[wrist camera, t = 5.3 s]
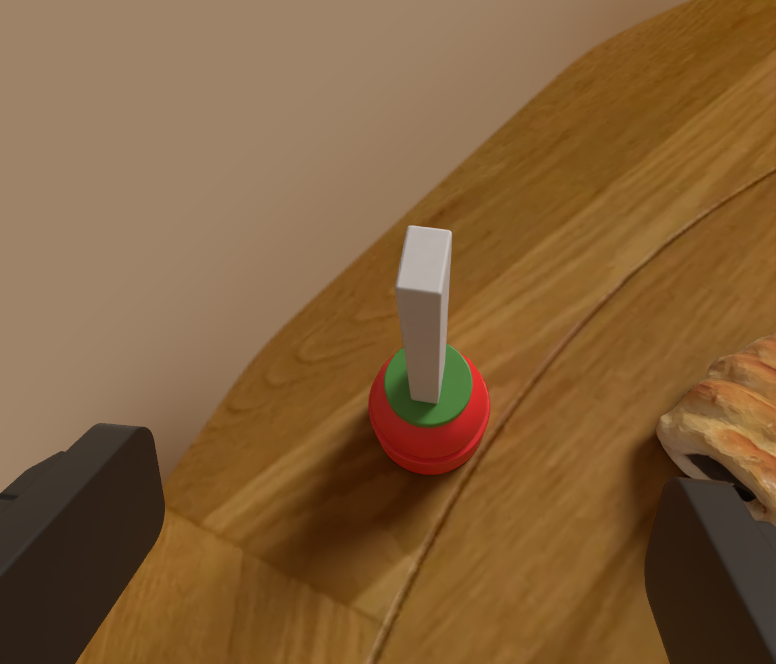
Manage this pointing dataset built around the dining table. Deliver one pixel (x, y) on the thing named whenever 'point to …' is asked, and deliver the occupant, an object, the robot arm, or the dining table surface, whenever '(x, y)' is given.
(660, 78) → the dining table surface
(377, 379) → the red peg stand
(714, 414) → the pastry
